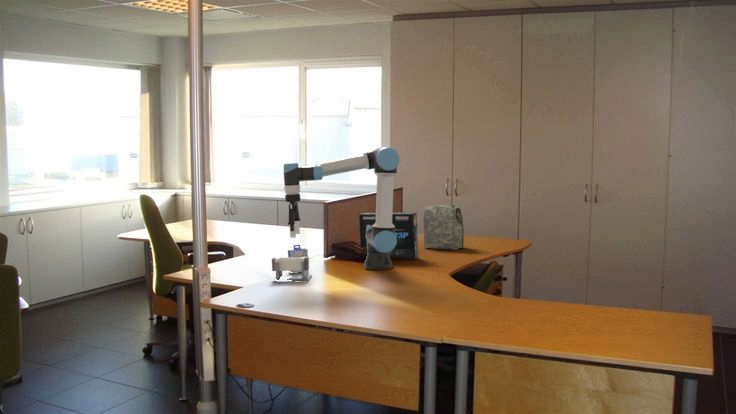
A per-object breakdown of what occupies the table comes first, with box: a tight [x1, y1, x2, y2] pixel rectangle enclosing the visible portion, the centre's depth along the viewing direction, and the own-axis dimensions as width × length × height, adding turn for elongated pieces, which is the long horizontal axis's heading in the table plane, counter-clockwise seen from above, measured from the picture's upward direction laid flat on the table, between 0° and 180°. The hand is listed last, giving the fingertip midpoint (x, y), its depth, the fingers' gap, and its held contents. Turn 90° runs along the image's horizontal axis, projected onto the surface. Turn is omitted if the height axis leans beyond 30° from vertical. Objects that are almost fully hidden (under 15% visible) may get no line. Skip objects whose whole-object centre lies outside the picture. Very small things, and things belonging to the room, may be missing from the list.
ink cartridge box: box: [287, 244, 310, 272], centre depth 363 cm, size 10×6×14 cm, turn 114°
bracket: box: [275, 261, 312, 282], centre depth 344 cm, size 18×12×10 cm, turn 86°
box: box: [358, 212, 419, 261], centre depth 396 cm, size 33×8×27 cm, turn 68°
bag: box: [422, 204, 465, 251], centre depth 428 cm, size 22×16×27 cm
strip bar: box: [271, 256, 310, 272], centre depth 343 cm, size 18×4×6 cm, turn 86°
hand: (295, 235), depth 345 cm, fingers open, 13 cm apart
